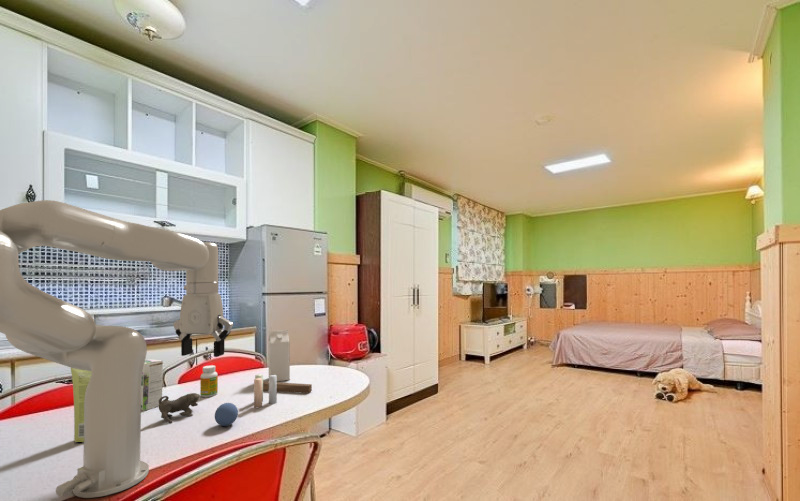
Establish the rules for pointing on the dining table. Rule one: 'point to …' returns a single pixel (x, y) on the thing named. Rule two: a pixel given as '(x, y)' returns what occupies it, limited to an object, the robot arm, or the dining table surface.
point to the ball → (226, 414)
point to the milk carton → (279, 355)
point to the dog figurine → (177, 405)
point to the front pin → (258, 392)
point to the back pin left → (262, 382)
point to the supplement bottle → (209, 382)
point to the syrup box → (151, 384)
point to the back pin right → (272, 389)
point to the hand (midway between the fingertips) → (202, 355)
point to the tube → (79, 400)
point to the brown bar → (290, 387)
